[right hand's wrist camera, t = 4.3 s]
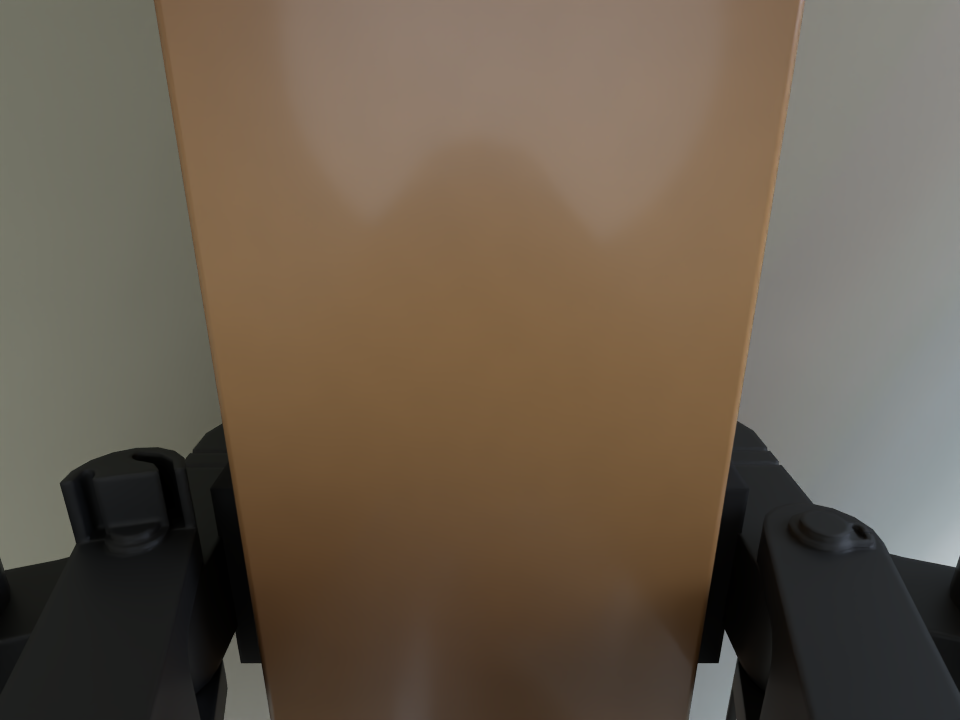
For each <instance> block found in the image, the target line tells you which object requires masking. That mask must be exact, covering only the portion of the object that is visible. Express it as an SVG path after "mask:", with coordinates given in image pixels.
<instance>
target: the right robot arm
mask: <svg viewBox="0 0 960 720" xmlns="http://www.w3.org/2000/svg"><path fill="white" fill-rule="evenodd" d="M60 486H61V490H62V493H63V497H64V500H65V504H66V508H67V511H68V515H69V519H70V522H71V526H72V529H73V533H74V537H75V540H76V545H75V547H74V549H73V551H72V553H71V555H70V557H68V558H64V559H60V560H55V561H50V562H45V563H40V564H35V565H30V566H25V567H20V568H14V569H9V570H4V568H3V565H2V562H1V559H0V720H224V713H225V705H226V697H227V689H228V688H227V681H226V674H225V669H224V663H223V657H224V655H225V653H226V651H227V648H228V646H229V644H230V642H231V640H232V638H233V635H234V633H235V632H236V638H237V644H238V649H239V655H240V660H241V663H261V657H260V651H259V644H258V638H257V632H256V626H255V620H254V614H253V607H252V601H251V595H250V589H249V583H248V577H247V570H246V564H245V558H244V552H243V546H242V540H241V534H240V527H239V521H238V515H237V509H236V503H235V497H234V490H233V484H232V478H231V472H230V466H229V460H228V453H227V447H226V441H225V435H224V429H223V423H222V424H221V425H219V426H217V427H216V428H214V429H213V430H211V431H209V432H208V433H206V434H205V436H204V437H203V438H202V439H201V440H200V442H199V443H198V444H197V445H196V447H195V448H194V449H193V453H190V454H189V455H188V456H187V458H186V459H184V457H182V456H181V455H180V454H178V453H177V452H175V451H173V450H168V449H163V448H159V447H153V448H134V449H128V450H123V451H118V452H113V453H110V454H107V455H105V456H102V457H99V458H96V459H93V460H90V461H89V462H87V463H85V464H83V465H82V466H80V467H78V468H76V469H75V470H73V471H71V472H70V473H69V474H68V475H67V476H66V477H65V478H64V479H63V480H62V481H61V482H60ZM724 630H725V631H726V633H727V635H728V637H729V639H730V642H731V644H732V646H733V648H734V650H735V652H736V655H737V657H738V658H737V663H736V669H735V674H734V679H733V684H732V690H731V695H730V700H729V705H728V711H727V716H726V720H736V719H737V720H960V557H959V560H958V563H957V566H956V567H951V566H946V565H941V564H935V563H930V562H925V561H920V560H915V559H910V558H904V557H900V556H896V555H892V554H889V552H888V550H887V548H886V546H885V544H884V543H883V541H882V540H881V539H880V538H879V536H878V535H877V534H876V533H875V532H874V530H873V529H871V528H870V527H868V526H867V525H865V524H864V523H862V522H861V521H859V520H858V519H856V518H855V517H852V516H850V515H848V514H845V513H843V512H840V511H838V510H835V509H833V508H828V507H824V506H819V505H815V504H813V503H812V502H811V500H810V499H809V498H808V497H807V496H806V494H805V493H804V492H803V491H802V489H801V488H800V487H799V486H798V485H797V483H796V482H795V481H794V480H793V478H792V477H791V476H790V475H789V474H788V472H787V471H786V470H785V469H784V467H783V466H782V465H779V461H778V460H777V459H776V458H775V456H774V455H773V454H772V453H771V452H770V451H767V447H766V446H765V444H764V443H763V442H762V441H761V439H760V438H759V437H758V436H757V435H756V433H755V432H754V431H753V430H751V429H750V428H748V427H746V426H745V425H743V424H741V423H740V422H738V421H737V424H736V430H735V436H734V442H733V448H732V454H731V461H730V467H729V473H728V479H727V485H726V491H725V498H724V504H723V510H722V516H721V522H720V528H719V535H718V541H717V547H716V553H715V559H714V565H713V572H712V578H711V584H710V590H709V596H708V603H707V609H706V615H705V621H704V627H703V633H702V640H701V646H700V652H699V658H698V663H719V658H720V652H721V647H722V641H723V635H724Z"/></svg>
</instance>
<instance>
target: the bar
mask: <svg viewBox="0 0 960 720" xmlns="http://www.w3.org/2000/svg"><path fill="white" fill-rule="evenodd" d="M154 4H155V10H156V16H157V22H158V28H159V35H160V41H161V47H162V53H163V59H164V65H165V72H166V78H167V84H168V90H169V96H170V102H171V108H172V115H173V121H174V127H175V133H176V139H177V145H178V152H179V158H180V164H181V170H182V176H183V182H184V189H185V195H186V201H187V207H188V213H189V219H190V226H191V232H192V238H193V244H194V250H195V256H196V262H197V269H198V275H199V281H200V287H201V293H202V299H203V306H204V312H205V318H206V324H207V330H208V336H209V343H210V349H211V355H212V361H213V367H214V373H215V380H216V386H217V392H218V398H219V404H220V410H221V416H222V423H223V429H224V435H225V441H226V447H227V453H228V460H229V466H230V472H231V478H232V484H233V490H234V497H235V503H236V509H237V515H238V521H239V527H240V534H241V540H242V546H243V552H244V558H245V564H246V570H247V577H248V583H249V589H250V595H251V601H252V607H253V614H254V620H255V626H256V632H257V638H258V644H259V651H260V657H261V663H262V669H263V675H264V681H265V688H266V694H267V700H268V706H269V712H270V718H271V720H689V714H690V707H691V701H692V695H693V689H694V683H695V677H696V670H697V664H698V658H699V652H700V646H701V640H702V633H703V627H704V621H705V615H706V609H707V603H708V596H709V590H710V584H711V578H712V572H713V565H714V559H715V553H716V547H717V541H718V535H719V528H720V522H721V516H722V510H723V504H724V498H725V491H726V485H727V479H728V473H729V467H730V461H731V454H732V448H733V442H734V436H735V430H736V424H737V417H738V411H739V405H740V399H741V393H742V387H743V380H744V374H745V368H746V362H747V356H748V350H749V343H750V337H751V331H752V325H753V319H754V312H755V306H756V300H757V294H758V288H759V282H760V275H761V269H762V263H763V257H764V251H765V245H766V238H767V232H768V226H769V220H770V214H771V208H772V201H773V195H774V189H775V183H776V177H777V171H778V164H779V158H780V152H781V146H782V140H783V134H784V127H785V121H786V115H787V109H788V103H789V97H790V90H791V84H792V78H793V72H794V66H795V59H796V53H797V47H798V41H799V35H800V29H801V22H802V16H803V10H804V4H805V0H154Z"/></svg>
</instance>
